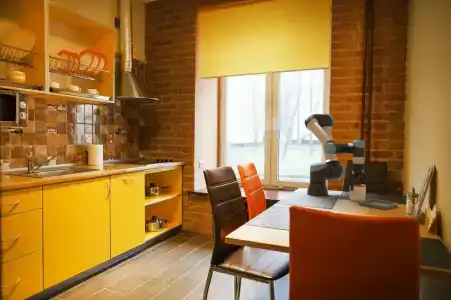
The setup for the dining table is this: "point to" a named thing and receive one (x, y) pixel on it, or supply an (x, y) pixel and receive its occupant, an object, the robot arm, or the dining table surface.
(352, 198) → the cup
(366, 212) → the dining table surface
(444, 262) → the dining table surface
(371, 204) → the tray
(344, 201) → the dining table surface
